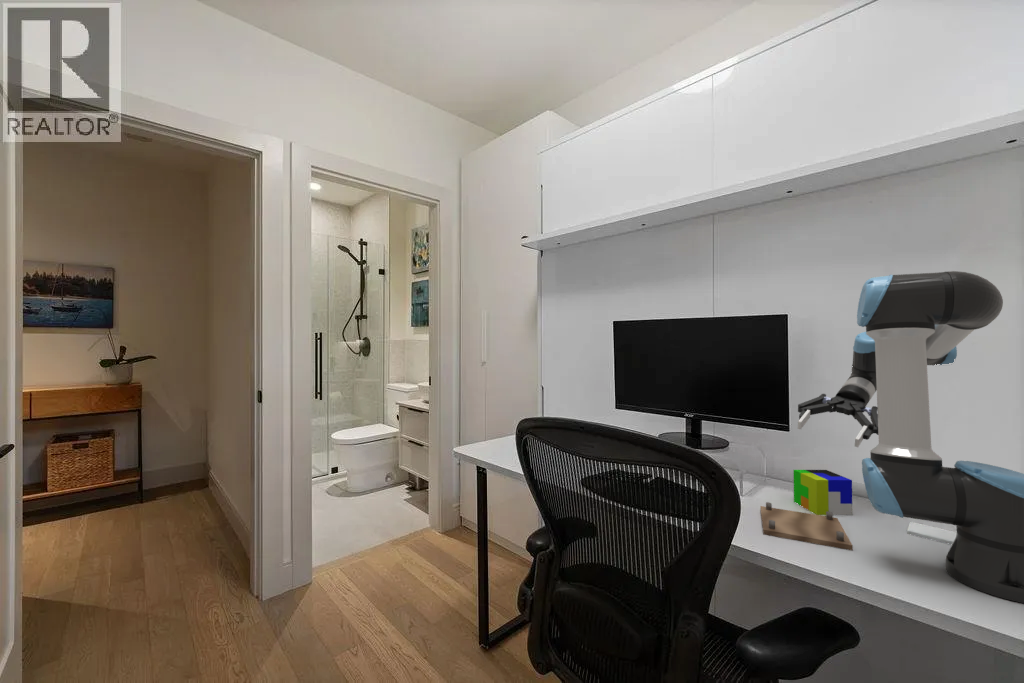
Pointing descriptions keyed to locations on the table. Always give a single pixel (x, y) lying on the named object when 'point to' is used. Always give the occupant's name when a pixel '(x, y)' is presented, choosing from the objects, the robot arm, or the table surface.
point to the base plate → (804, 527)
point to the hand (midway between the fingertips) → (826, 433)
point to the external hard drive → (931, 532)
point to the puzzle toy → (823, 492)
